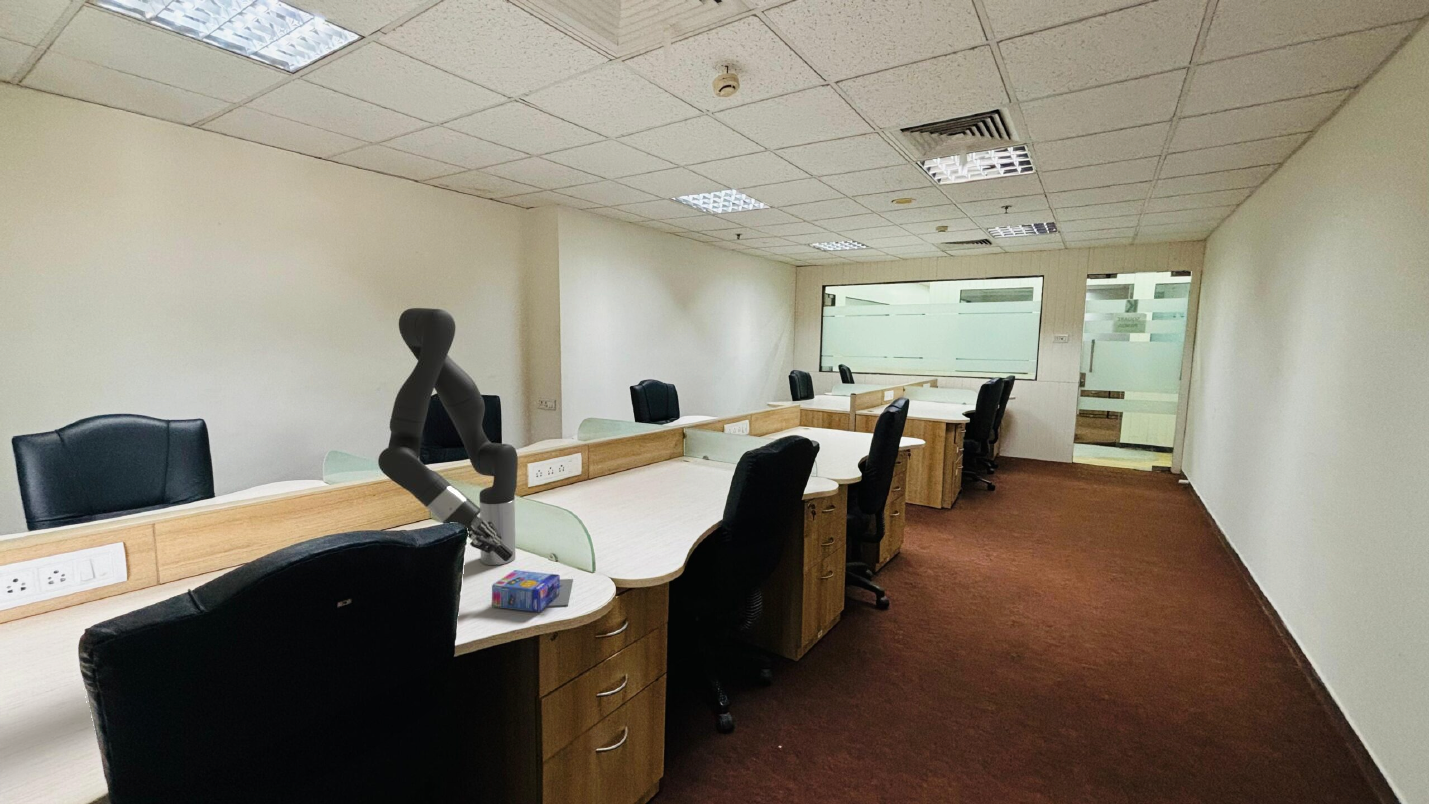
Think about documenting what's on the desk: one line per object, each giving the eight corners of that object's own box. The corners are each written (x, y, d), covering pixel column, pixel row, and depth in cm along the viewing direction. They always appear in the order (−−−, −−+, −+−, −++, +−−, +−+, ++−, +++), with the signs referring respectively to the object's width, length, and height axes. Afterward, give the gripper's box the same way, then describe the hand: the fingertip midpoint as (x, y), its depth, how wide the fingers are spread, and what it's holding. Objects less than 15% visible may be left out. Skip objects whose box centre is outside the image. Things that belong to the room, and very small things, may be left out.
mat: (522, 582, 143) (522, 581, 143) (573, 580, 145) (573, 578, 145) (511, 609, 129) (511, 607, 129) (567, 606, 131) (567, 604, 131)
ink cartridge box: (514, 567, 138) (569, 574, 135) (514, 589, 138) (568, 596, 136) (491, 583, 128) (549, 591, 125) (490, 607, 129) (549, 615, 126)
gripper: (457, 505, 124) (516, 556, 128) (473, 490, 137) (525, 537, 141) (433, 529, 124) (492, 580, 127) (450, 512, 137) (504, 558, 140)
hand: (509, 557), depth 134 cm, fingers closed
